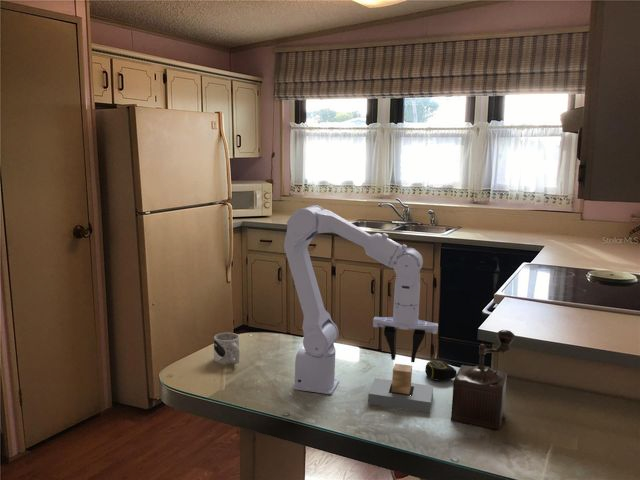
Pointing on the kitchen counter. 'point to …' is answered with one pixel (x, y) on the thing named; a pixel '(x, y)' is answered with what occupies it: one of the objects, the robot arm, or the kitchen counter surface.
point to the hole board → (401, 396)
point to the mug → (226, 348)
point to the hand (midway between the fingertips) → (403, 359)
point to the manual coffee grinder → (481, 390)
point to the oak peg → (401, 379)
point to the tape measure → (440, 370)
